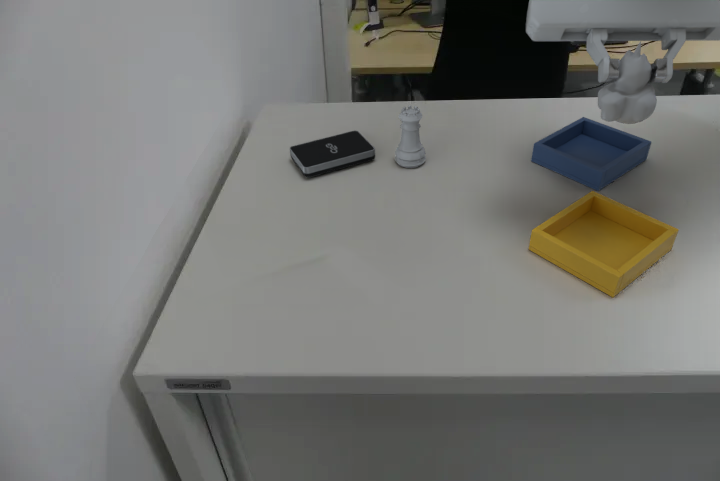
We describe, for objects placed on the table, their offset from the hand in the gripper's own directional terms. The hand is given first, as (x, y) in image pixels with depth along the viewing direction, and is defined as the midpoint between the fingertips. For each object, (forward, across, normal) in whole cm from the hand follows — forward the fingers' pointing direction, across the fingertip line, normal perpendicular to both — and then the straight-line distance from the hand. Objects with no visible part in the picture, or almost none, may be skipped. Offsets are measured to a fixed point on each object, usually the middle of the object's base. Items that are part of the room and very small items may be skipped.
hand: (634, 80), depth 53 cm
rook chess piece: (+2, -22, +25) cm, 33 cm away
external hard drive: (+2, -34, +25) cm, 42 cm away
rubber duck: (+3, 0, +4) cm, 5 cm away
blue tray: (+1, +2, +26) cm, 26 cm away
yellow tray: (+15, 0, +12) cm, 19 cm away
